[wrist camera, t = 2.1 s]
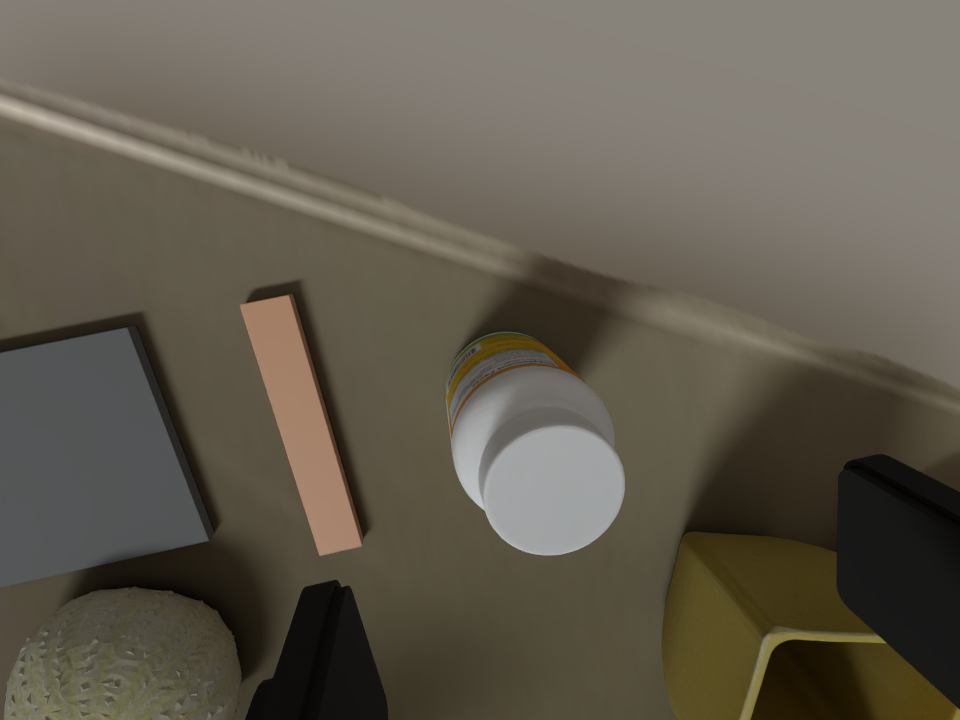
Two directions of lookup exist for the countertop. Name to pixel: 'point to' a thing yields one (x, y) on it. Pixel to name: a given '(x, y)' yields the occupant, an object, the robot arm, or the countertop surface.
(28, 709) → the sea urchin shell
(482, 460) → the supplement bottle
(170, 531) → the pad
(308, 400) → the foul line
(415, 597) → the countertop surface
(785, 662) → the flower pot
